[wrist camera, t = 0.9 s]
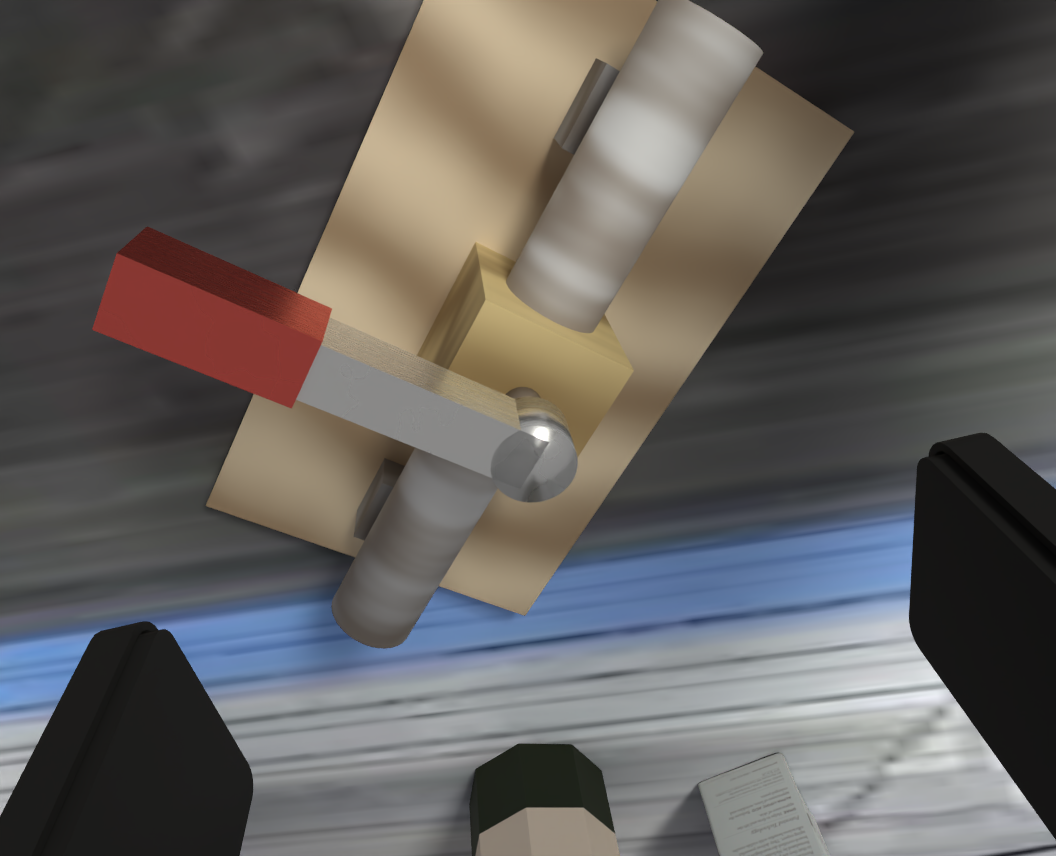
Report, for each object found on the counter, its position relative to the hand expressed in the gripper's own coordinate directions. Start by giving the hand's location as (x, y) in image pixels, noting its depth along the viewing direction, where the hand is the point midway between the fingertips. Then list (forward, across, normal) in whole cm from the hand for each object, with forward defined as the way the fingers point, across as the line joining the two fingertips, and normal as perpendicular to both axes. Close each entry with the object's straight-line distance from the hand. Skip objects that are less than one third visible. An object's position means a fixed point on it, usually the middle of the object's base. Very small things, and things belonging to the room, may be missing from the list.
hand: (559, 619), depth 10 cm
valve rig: (+24, 0, +6) cm, 25 cm away
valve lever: (+15, +4, +2) cm, 16 cm away
